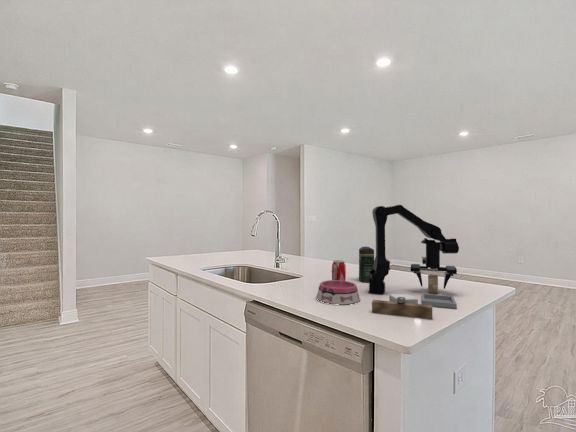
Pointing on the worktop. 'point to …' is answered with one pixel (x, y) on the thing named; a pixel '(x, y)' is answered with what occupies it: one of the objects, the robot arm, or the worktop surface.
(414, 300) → the small box
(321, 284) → the dog bowl
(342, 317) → the worktop surface
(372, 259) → the coffee jar
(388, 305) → the stop rail
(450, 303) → the tray
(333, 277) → the soda can
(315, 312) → the worktop surface
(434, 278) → the dowel
